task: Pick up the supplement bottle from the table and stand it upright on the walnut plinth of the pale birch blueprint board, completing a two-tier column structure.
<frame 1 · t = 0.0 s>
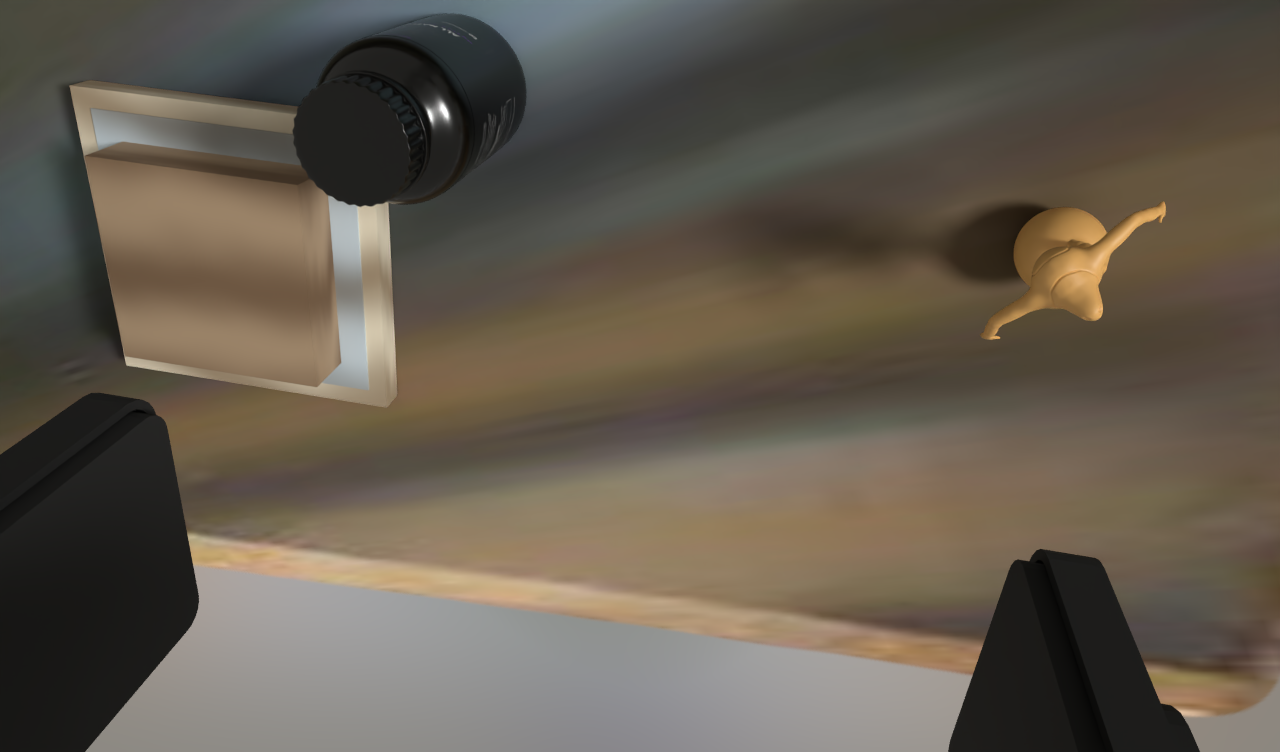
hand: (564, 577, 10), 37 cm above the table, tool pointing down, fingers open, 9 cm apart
supplement bottle: (462, 85, 46), on the table
figurine: (1036, 220, 44), on the table
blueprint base: (252, 246, 51), on the table
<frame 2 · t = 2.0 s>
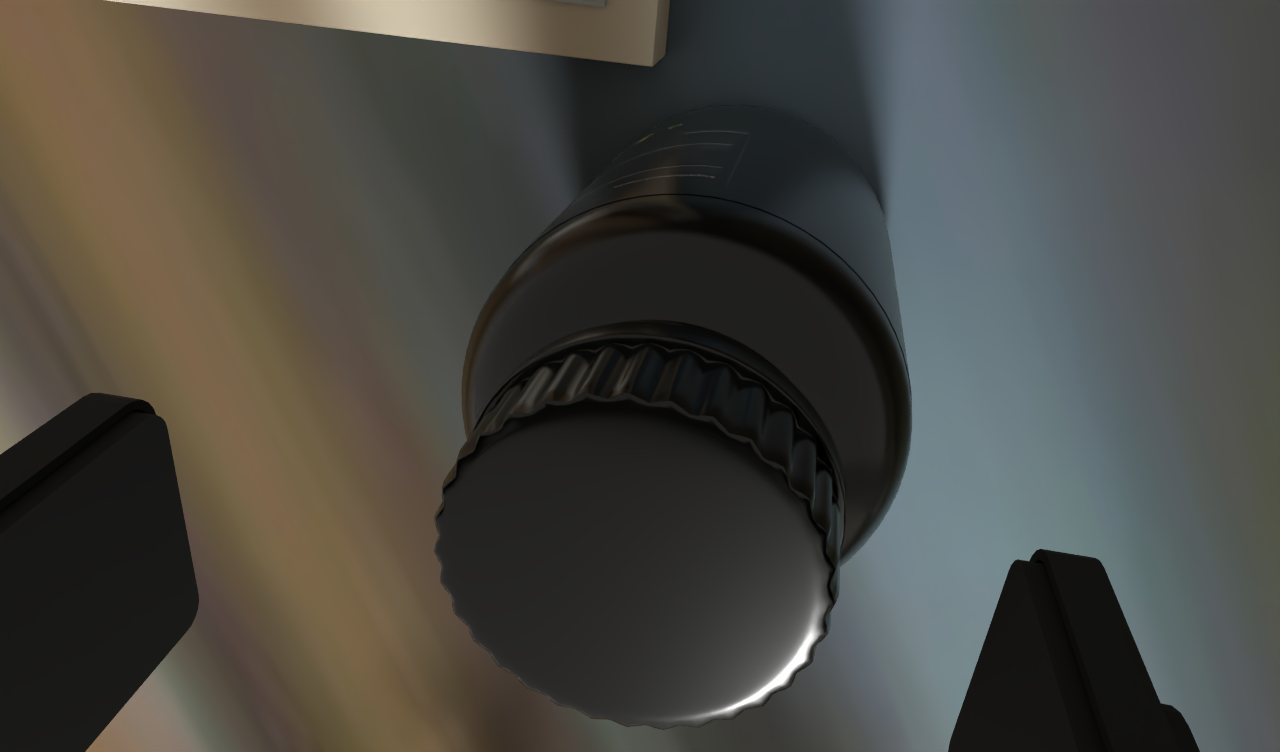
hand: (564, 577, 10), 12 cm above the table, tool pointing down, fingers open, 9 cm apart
supplement bottle: (735, 246, 21), on the table
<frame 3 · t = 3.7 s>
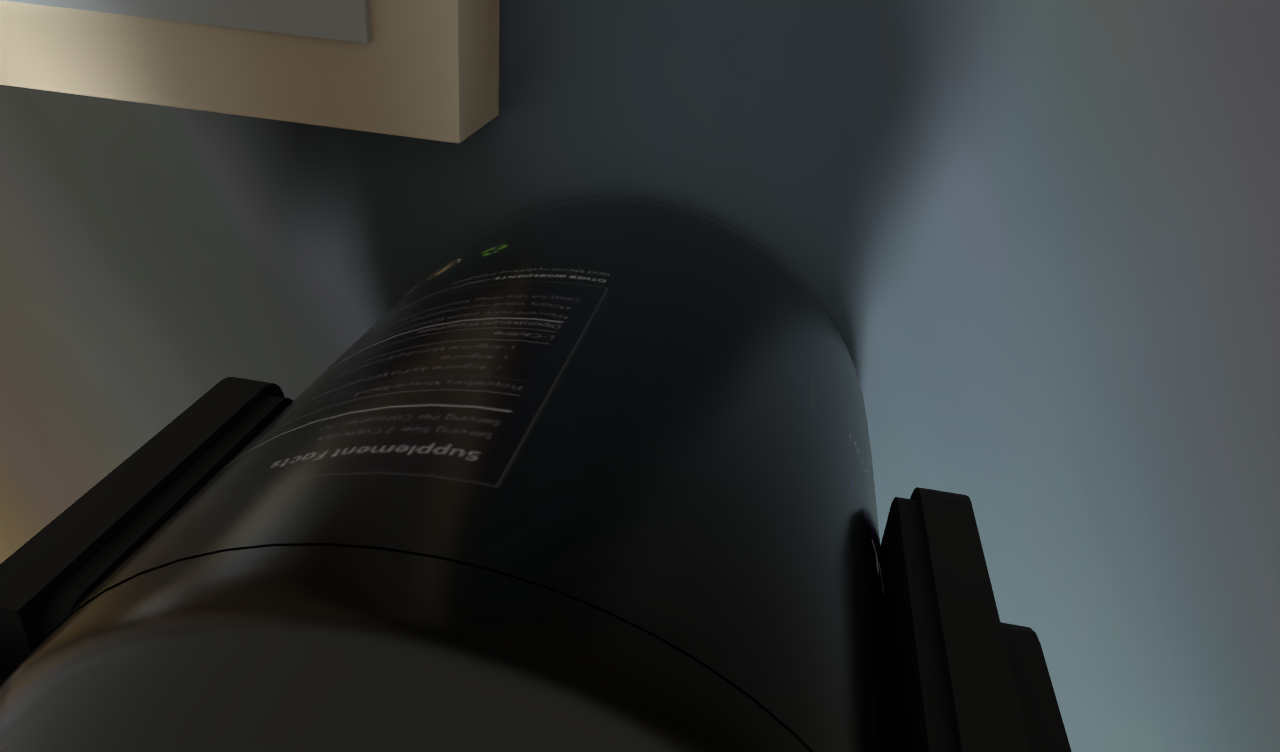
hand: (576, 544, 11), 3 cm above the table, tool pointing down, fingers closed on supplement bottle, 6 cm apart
supplement bottle: (630, 400, 14), on the table, touching gripper
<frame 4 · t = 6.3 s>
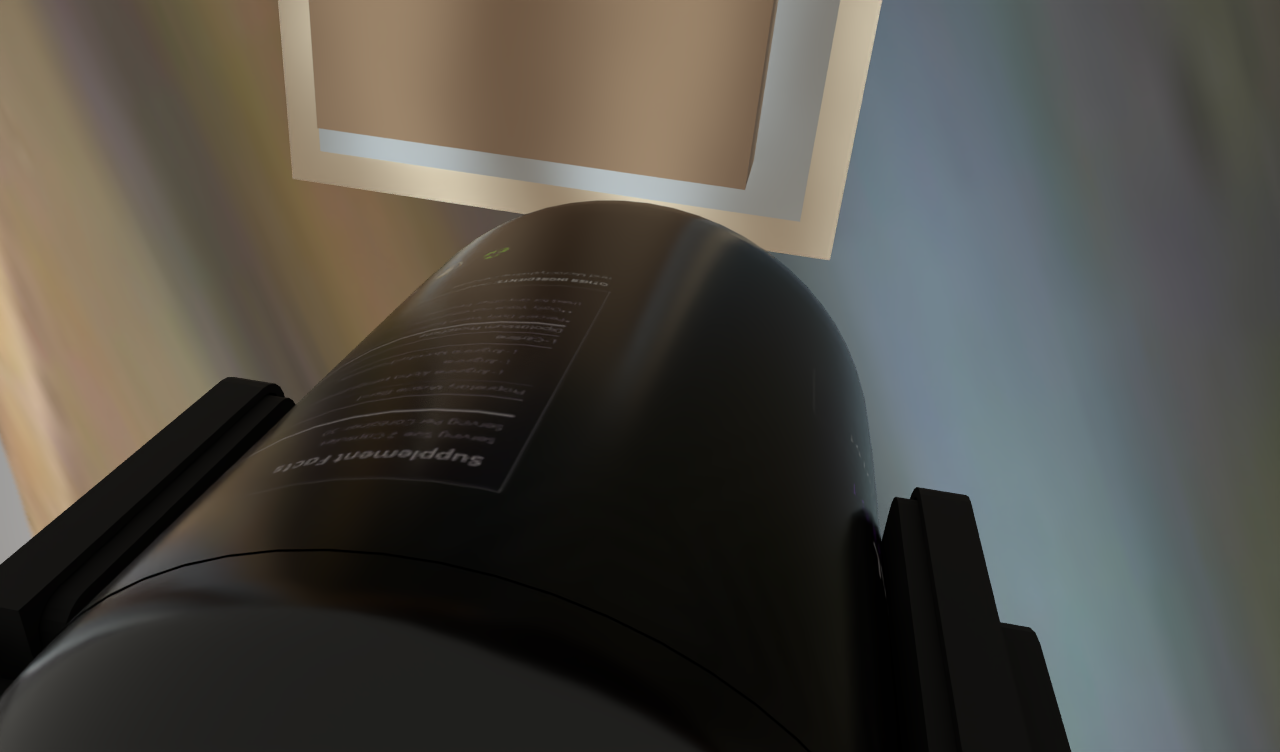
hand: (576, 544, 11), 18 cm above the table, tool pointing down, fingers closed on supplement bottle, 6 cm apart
supplement bottle: (631, 402, 14), point 15 cm above the table, touching gripper
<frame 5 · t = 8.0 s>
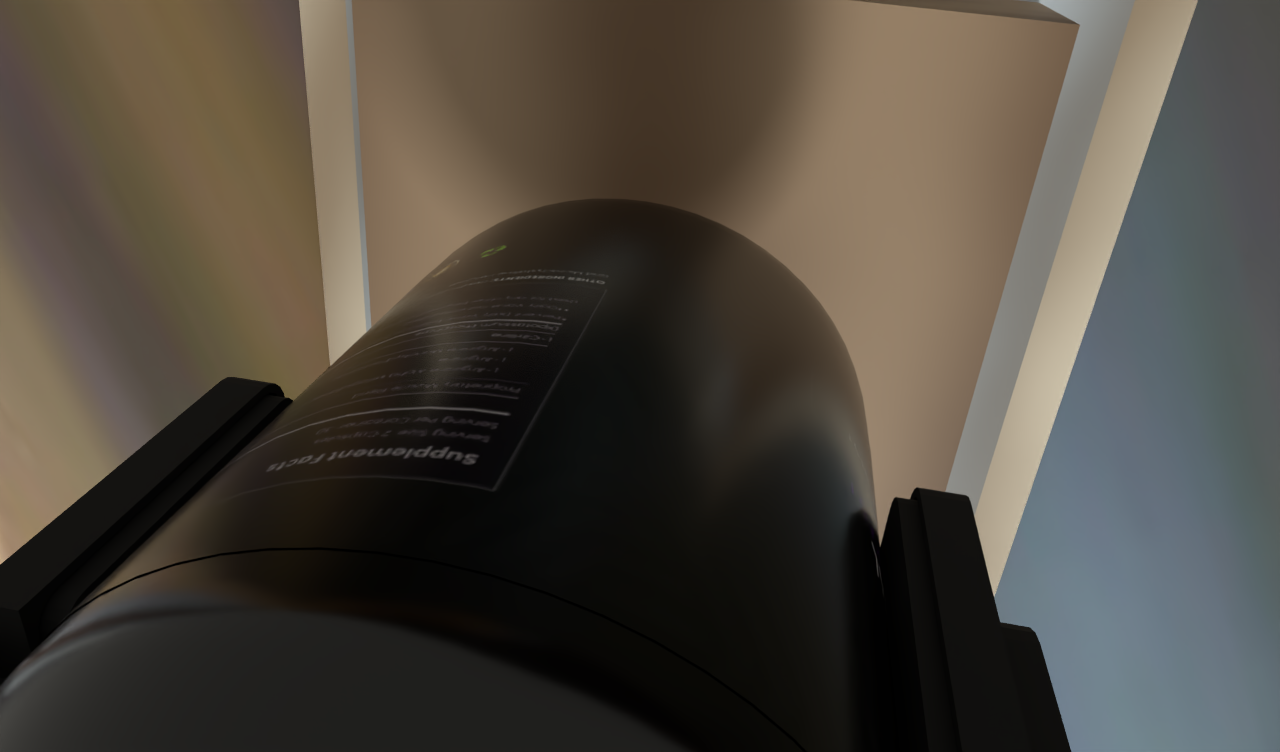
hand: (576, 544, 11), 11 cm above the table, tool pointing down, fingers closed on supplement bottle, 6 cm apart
supplement bottle: (629, 401, 14), point 8 cm above the table, touching gripper
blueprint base: (694, 235, 20), on the table
when the fingers open (9 cm above the table, at t = 9.3 s): supplement bottle drops 1 cm, resting on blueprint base.
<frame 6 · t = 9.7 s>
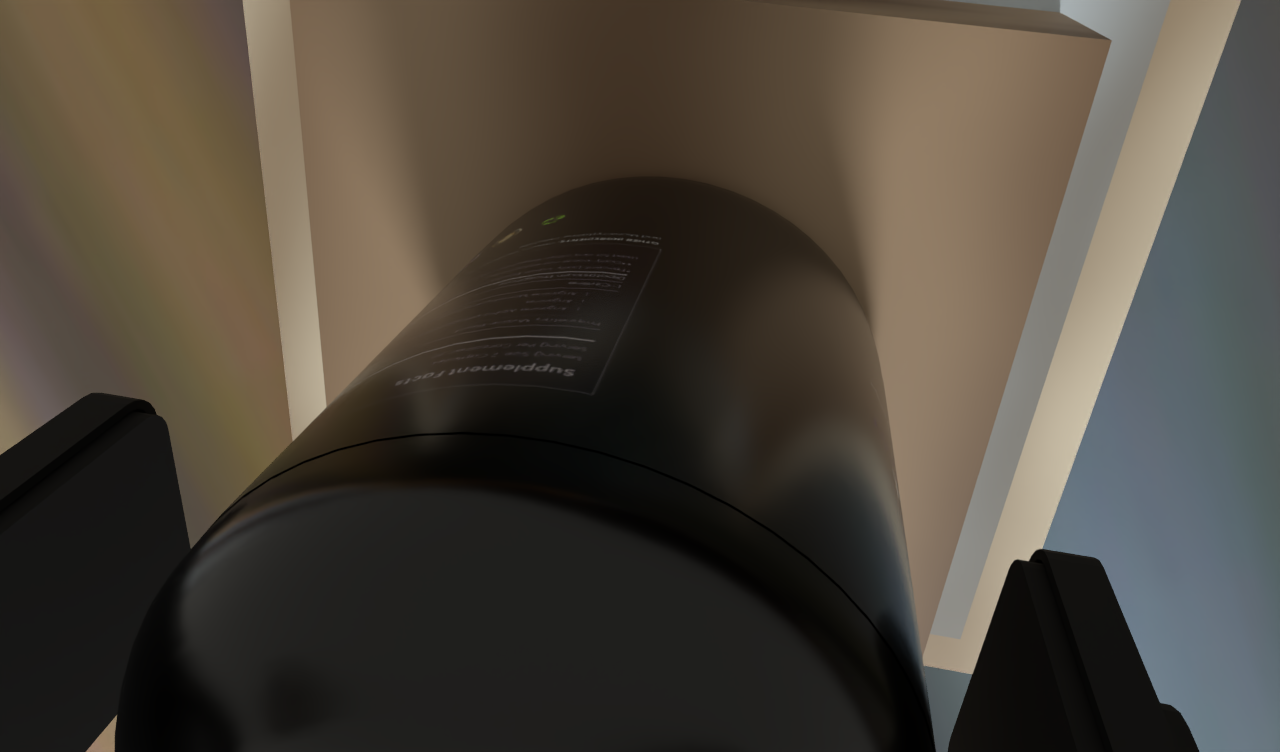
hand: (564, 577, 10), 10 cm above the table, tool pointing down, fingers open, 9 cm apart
supplement bottle: (663, 365, 15), point 4 cm above the table, touching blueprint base
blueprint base: (680, 262, 19), on the table
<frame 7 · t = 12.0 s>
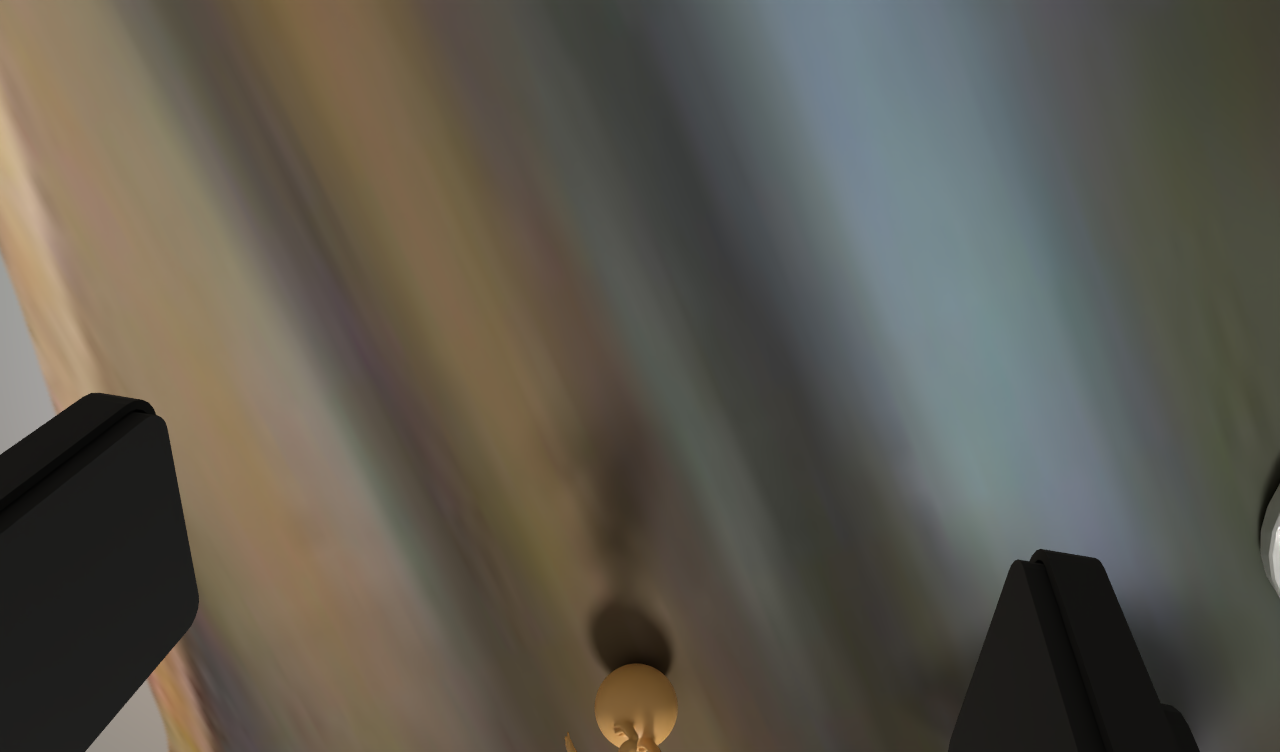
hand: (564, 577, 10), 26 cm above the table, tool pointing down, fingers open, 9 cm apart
figurine: (655, 662, 47), on the table
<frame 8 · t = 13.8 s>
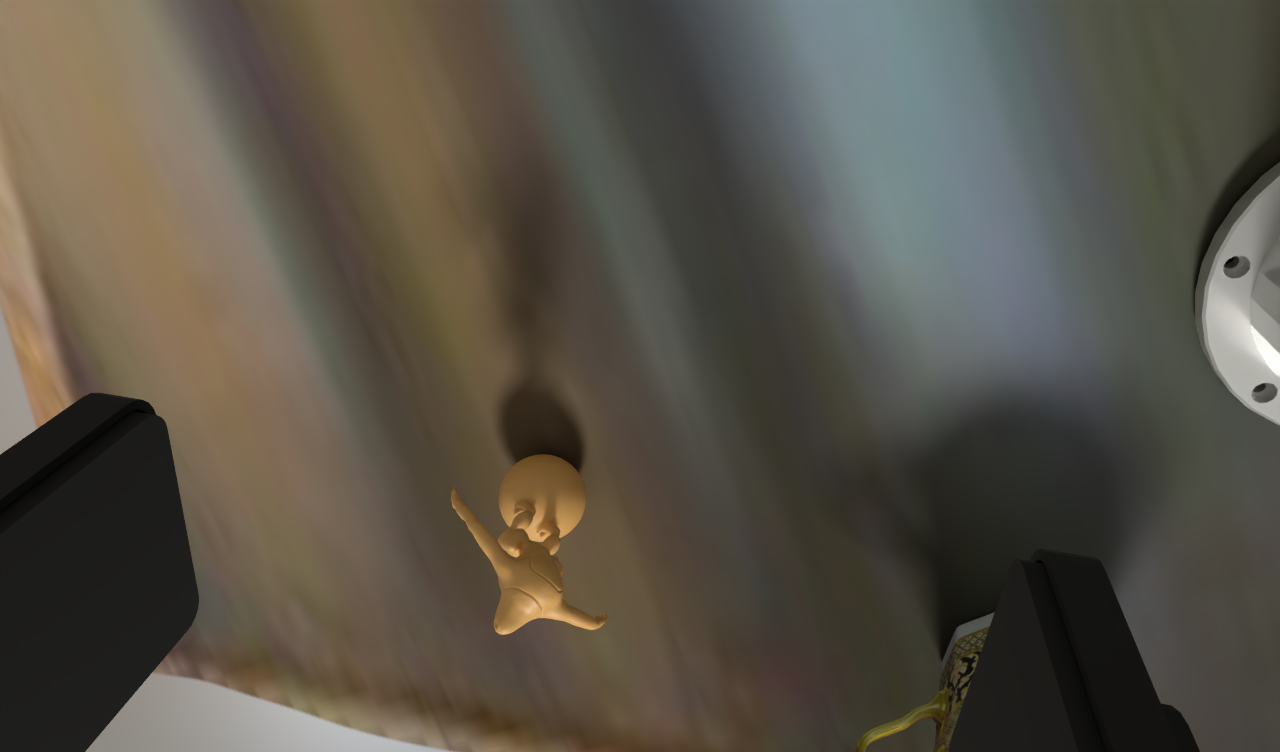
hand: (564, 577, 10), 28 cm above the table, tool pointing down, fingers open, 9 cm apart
figurine: (568, 459, 44), on the table
ceramic cup: (983, 649, 45), on the table
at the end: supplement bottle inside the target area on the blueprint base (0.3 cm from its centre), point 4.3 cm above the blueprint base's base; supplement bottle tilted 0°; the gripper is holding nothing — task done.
